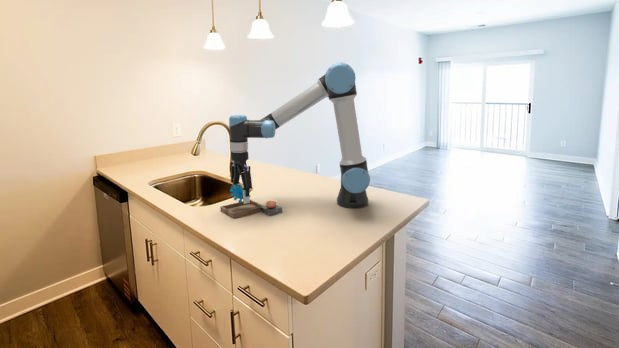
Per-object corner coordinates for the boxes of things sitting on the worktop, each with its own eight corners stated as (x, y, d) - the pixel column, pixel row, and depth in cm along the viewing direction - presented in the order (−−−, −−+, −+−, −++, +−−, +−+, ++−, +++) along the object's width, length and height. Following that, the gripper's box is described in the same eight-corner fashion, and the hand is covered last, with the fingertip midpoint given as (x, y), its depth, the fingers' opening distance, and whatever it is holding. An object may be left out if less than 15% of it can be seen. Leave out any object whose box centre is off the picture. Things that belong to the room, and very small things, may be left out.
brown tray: (264, 210, 159) (264, 206, 159) (233, 219, 150) (233, 214, 149) (250, 203, 169) (250, 199, 168) (220, 211, 159) (220, 206, 158)
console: (282, 212, 157) (282, 207, 156) (269, 216, 152) (269, 210, 152) (273, 208, 162) (273, 203, 161) (260, 212, 158) (260, 206, 157)
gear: (237, 202, 150) (227, 183, 154) (230, 210, 154) (221, 191, 157) (256, 199, 159) (247, 182, 162) (249, 206, 162) (240, 189, 165)
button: (278, 208, 156) (278, 202, 156) (269, 210, 154) (269, 204, 153) (272, 205, 160) (272, 200, 159) (264, 208, 157) (264, 202, 156)
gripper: (259, 153, 147) (261, 204, 153) (235, 147, 162) (238, 193, 168) (243, 155, 142) (246, 208, 148) (220, 148, 157) (224, 196, 163)
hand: (242, 200), depth 158 cm, fingers closed on gear, 8 cm apart
